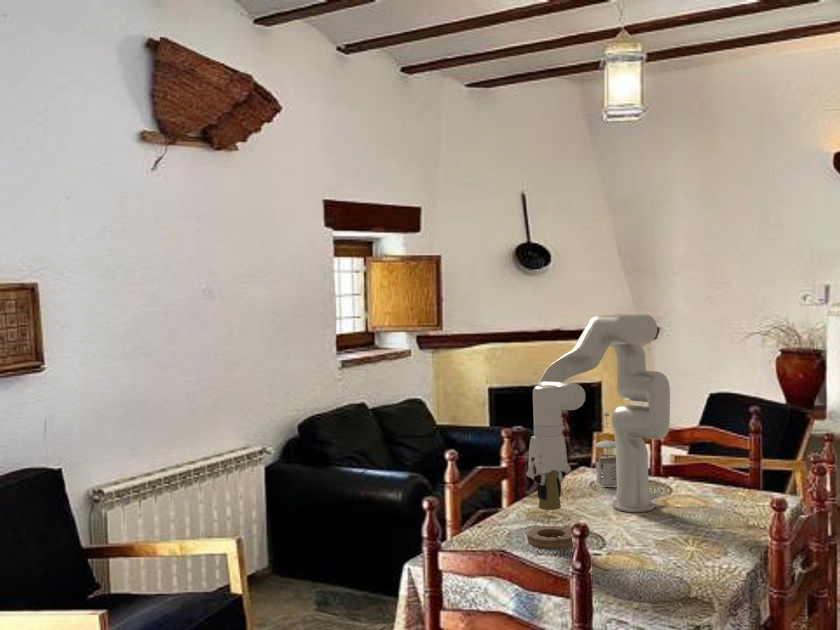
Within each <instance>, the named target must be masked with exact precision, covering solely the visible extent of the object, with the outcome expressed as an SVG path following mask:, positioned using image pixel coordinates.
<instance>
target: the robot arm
mask: <svg viewBox="0 0 840 630" xmlns="http://www.w3.org/2000/svg"><path fill="white" fill-rule="evenodd" d="M657 333H658V323H657V321H656V320H655V318H654V317H653V316H651V315H650V314H630V313H627V314H626V313H625V314H623V313H622V314H619V313H618V314H616V313H615V314H609V315H608V314H607V315H606V314H605V315H604V314H601V315H596V316H593V317H592V318H590V320H589V321H588V322H587V324H586V326H585V327H584V328H583V331H582V332H581V334H580V336H579V338H578V340H577V341H576V343H575V345H574V346H573V348H572V349H571V350H570V351H569V352H567V353H565V354H564V355H562V356H561V357H560V358H558V359H556V360H555V361H554V362H553V363H551V364H550V365H549V366H547V368H546V369H545V370H544V372H543V374H542V375H541V376H540V378H539V381H538V382H537V384H536V386H534V388H533V389H532V406H533V407H532V410H533V411H532V412H533V414H532V415H533V435H532V436H530V440H529V446H528V447H529V449H528V469H527V472H526V476H527V477H529V478H530V479H532V480H533V482H534V483H535V484H536V486H537V492H536V493H537V497H538V499H543V500H546V496H547V489H546V485H544V484H545V474H547V473H549V472H550V471H552V470H556V471H558V472H559V475H558V478H557V485H558V491H559V497H560V498H561V497H562V495H561V494H562V483H563V482H564V481H563V480H564V478H565V477H566V475H567V474H569V472H570V471H571V470H572V468H571V466H570V464H569V463H568V455H567V448H566V447H567V445H566V440H565V436H564V434H563V431H564V430H565V429H566V428H565V425H564V424H563V423H562V411H575V410H578V409H579V408H580V407H582V406H583V405H584V403H585V401H586V392H585V389H584V388H583V387H582V385H580V384H578V383H575V382H568V381H566V380H568V379H569V378H572V377H574V376H577V375H580V374H584V373H587V372H589V371H593V370H594V369H596V368H598V366H599V365H600V362H601V361H602V359H603V358H604V355H605V354H606V352H607V350H608V348H609V347H610V346H612V347H613V349H614V351H615V354H616V387H617V388H616V390H617V395H618V397H620V399H622V400H624V401H629V402H630V401H631V402H642V403H648V406H643V405H633V404H624V405H623V404H622V405H619V406H617V407H616V408H615V409H614V411H612V414H611V427H612V431H613V435H614V442H615V444H616V448H615V455H616V474H617V488H616V499H614V500H613V501H612V503H611V506H612V508H613V509H615V510H617V511H621V512H626V513H627V512H628V513H644V512H649V511H651V510H654V509H655V503H654V502H653V500H654V499H658V498H661V496H662V494H661V491H653V492H652V491H651V490H649V453H648V448H647V444H646V443H645V441H644V439H649V440H661V439H664V438H665V437H666V436H667V435H668V433H669V431H670V425H671V424H670V422H671V421H670V420H671V419H670V417H671V414H670V413H671V386H670V383H669V382H670V381H669V379H668V377H667V376H666V375H665V374H664V373H662V372H660V371H658V370H657V371H656V370H653V371H652V370H647V369H646V367H647V366H646V354H645V349H644V348H643V346H642V345H641V344H648V343H651V342H652V341H653V340H654V339H655V338H656V336H657ZM565 381H566V382H565ZM535 473H536V474H535ZM540 475H541V478H540Z"/></svg>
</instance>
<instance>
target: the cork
mask: <svg viewBox="0 0 840 630" xmlns="http://www.w3.org/2000/svg"><path fill="white" fill-rule="evenodd" d="M558 475H559V472H558V471H556V470H552V471H550V472H549V473H547V474H545V484H544V485H546V489H547V496H546V500H543V499H540V498H538V499H539V501H538V502H539V503H538V508H539V509H540V510H544V511H556V510H560V509H561V508H562V505H561V497H559V491H558V485H557V478H558ZM540 478H541V475H540Z"/></svg>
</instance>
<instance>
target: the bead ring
mask: <svg viewBox="0 0 840 630" xmlns="http://www.w3.org/2000/svg"><path fill="white" fill-rule="evenodd" d="M571 530H572V529H570V528H567V527H564V526H562V527H561V526H556V525H553V526H550V525H547V526H539V527H537V526H536V527H533V528H531V529H530V530H528V531H527V534H526V535H527V537H526V538H527V541H528V544H530V543H531V544H530V545H532V546H534V545H535V546H534V547H538V546H539V548H547V549H554V548H555V549H558V548H564V547H568V546H571V544H572V537H571ZM551 535H554V536H551ZM542 536H544V537H542ZM557 536H560V537H557ZM572 545H573V544H572Z"/></svg>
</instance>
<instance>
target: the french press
mask: <svg viewBox="0 0 840 630" xmlns="http://www.w3.org/2000/svg"><path fill="white" fill-rule="evenodd" d="M609 416H610V413H609V412H604V413H603V417H605V419H606V424H605V425H606V428H608V417H609ZM594 446H595V447H596V448H599V449H604V450H605V449H606V454H605V452H604V451H602V452H600V450H598V451H597V453H596V454H595V458H594V466H595V470H596V481H595V482H594V483H595V484H596V485H599V486H605V487H613V486H617V474H616V454H609V450H610V449H616V444H615V440H614V441H613V440H609V439H605V440H601V441H598V442H597V443H596V444H595V445H594ZM598 454H599V455H598Z"/></svg>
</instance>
